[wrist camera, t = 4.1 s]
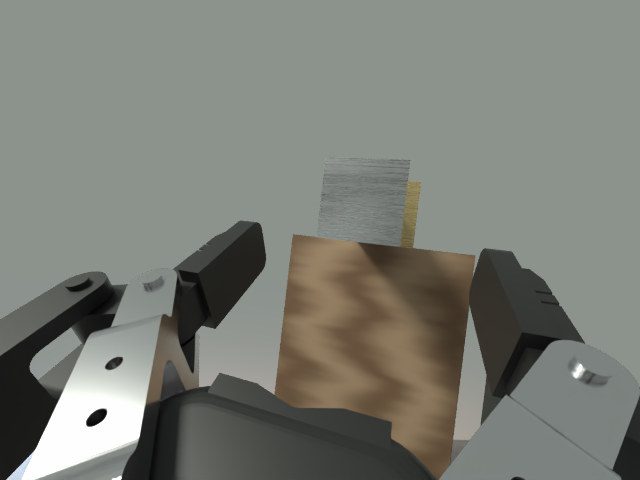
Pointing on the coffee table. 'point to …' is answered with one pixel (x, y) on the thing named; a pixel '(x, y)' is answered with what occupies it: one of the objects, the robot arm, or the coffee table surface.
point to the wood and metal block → (368, 202)
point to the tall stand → (378, 337)
